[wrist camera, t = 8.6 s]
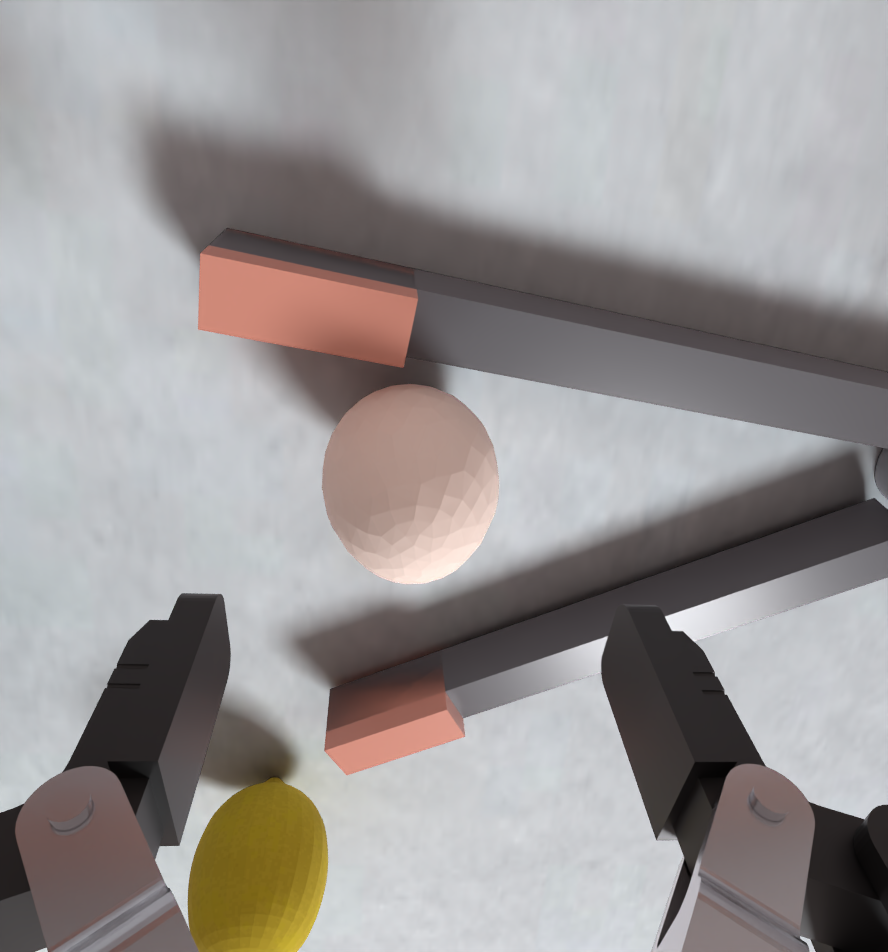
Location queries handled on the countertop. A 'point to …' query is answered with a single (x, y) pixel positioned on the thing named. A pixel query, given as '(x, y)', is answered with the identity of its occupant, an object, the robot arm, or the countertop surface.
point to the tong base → (526, 339)
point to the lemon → (258, 872)
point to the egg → (410, 483)
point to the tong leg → (600, 634)
